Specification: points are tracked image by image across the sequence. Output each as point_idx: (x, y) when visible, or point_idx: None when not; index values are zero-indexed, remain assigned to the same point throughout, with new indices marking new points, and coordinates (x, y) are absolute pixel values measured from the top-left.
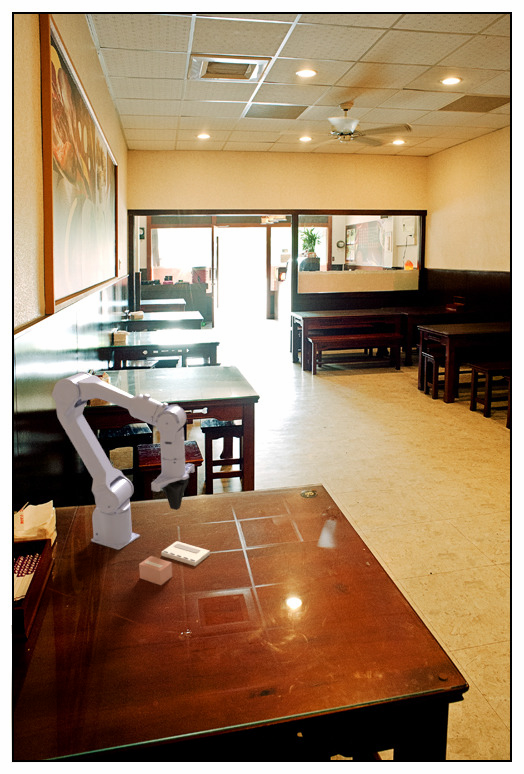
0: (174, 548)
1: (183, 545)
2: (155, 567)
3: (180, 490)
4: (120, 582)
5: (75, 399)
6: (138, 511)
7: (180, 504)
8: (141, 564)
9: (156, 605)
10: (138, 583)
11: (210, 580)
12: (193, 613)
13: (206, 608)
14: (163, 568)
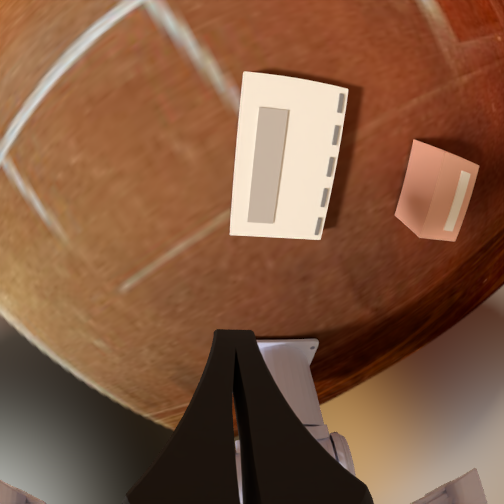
0: (284, 211)
1: (253, 191)
2: (467, 188)
3: (265, 468)
4: (440, 251)
5: None
6: (137, 386)
7: (220, 347)
8: (457, 234)
9: (493, 132)
10: None
11: (388, 21)
12: (490, 47)
13: (473, 21)
14: (471, 162)
